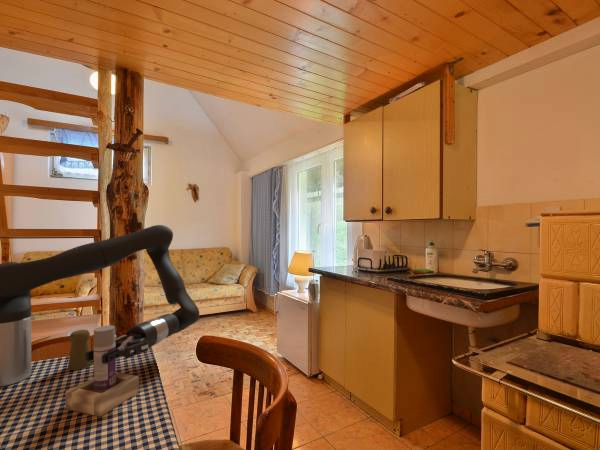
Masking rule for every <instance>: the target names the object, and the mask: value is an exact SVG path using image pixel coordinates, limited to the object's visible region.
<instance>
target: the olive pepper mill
mask: <svg viewBox="0 0 600 450" xmlns="http://www.w3.org/2000/svg"><path fill="white" fill-rule="evenodd" d="M90 336H91V335H90V331H89V330H87V329H78V330H75V331H72V332H71V333H70V334H69V342H70V343H71V345H70V352H69V358H68V363H67V371H70V370H75V371H80V369H81V370H84V369H86V367H87V368H88V366H89V367H90V366H91V365H92V360H91V361H86V357H85V354H86V352H88V351H90V346H89V340H90ZM83 368H84V369H83Z"/></svg>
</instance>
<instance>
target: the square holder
mask: <svg viewBox="0 0 600 450" xmlns="http://www.w3.org/2000/svg"><path fill="white" fill-rule="evenodd" d="M139 389H140V376H138V375H132V374H127V373H120V372H116V385H115V386H114V387H112V388H110V389H108V390H107V391H105V392H95V391H94V377H92V378H89V379H88V380H85V381H84V382H81V383H80V384H78V385H76V386H74V387H71V388H70V389H67V390H66V391H65V392H64V393H65V398H64V399H65V400H64V401H65V402H64V403H65V404H64V405H65V409H66V410H70V411H76V412H80V413H83V414H86V415H92V416H96V417H102V416H105V414H107V413H109V412H110V411H112V410H113V409H115V408H117V407H118V406H119V405H121V404H122V403H124V402H125V401H127V400H129V399H130V398H131V397H133V396H135V395H136V394H137V393H138V394H139V392H140V391H139Z"/></svg>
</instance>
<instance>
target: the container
mask: <svg viewBox="0 0 600 450" xmlns="http://www.w3.org/2000/svg"><path fill="white" fill-rule="evenodd" d="M115 335H116V326H114V325H111V324H110V325H109V324H108V325H102V326H98V327H95V328H94V329H93V349H94V359H93V378H94V391H95V392H102V393H103V392H105V391H107V390H108V389H110V388H112V387H114V386H115V385H116V373H117V370H116V369H117V368H116V367H117V358H116V359H114V360H112V361H110V362H108V363H106V364H103V363H102V355H103V354H106V353H108V352H110V351H112V350H114V349H116V345H115Z"/></svg>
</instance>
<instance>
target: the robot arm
mask: <svg viewBox="0 0 600 450" xmlns="http://www.w3.org/2000/svg"><path fill="white" fill-rule="evenodd" d="M173 238H174V232H173V230H172V229H171V228H170V227H168V226H167V225H162V224H156V225H152V226H149V227H145V228H143V229H140V230H137V231H134V232H131V233H128V234H124V235H119V236H115V237H110V238H107V239H103V240H98V241H94V242H89V243H84V244H82V245H78V246H76V247H72V248H70V249H67V250H65V251H63V252H60V253H57V254H55V255H53V256H48V257H45V258H41V259H35V260H32V261H31V260H30V261H25V262H16V261H15V262H14V261H6V262H2V263H0V387H5V386H10V385H13V384H16V383H19V382H21V381H24V380H25V379H27V378H29V377H30V376H31V375H32V301H31V291H32V290H34V289H36V288H39V287H42V286H45V285H47V284H50V283H53V282H57V281H59V280H63V279H67V278H72V277H77V276H81V275H84V274H88V273H92V272H96V271H98V270H102V269H106V268H109V267H111V266H113V265H115V264H117V263H119V262H121V261H122V260H124V259H126V258H128V257H129V256H131V255H133V254H134V253H137V252H141V251H143V250H145V252H146V253H147V255H148V257H149V258H150V260H151V262H152V264H153V266H154V268H155V270H156V273H157V274H158V278H159V281H160V284H161V287H162V290H163V292H164V296H165V298H166V302H167V303H168V304H169V305H176V304H178V305H179V308H178V309H177V310H175V311H173V312H171V313H166V314H162V315H160V316H158V317H155V318H151V319H148V320H145V321H143V322H140V323H138V324H136V325H134V326H131V327H130V328H129V329H128V330H127V332H126V333H125V334H123V335H120V336H118V337H116V338H115V345H116V349H114V350H112V351H110V352H108V353H106V354H103V355H102V363H103V364H106V363H108V362H110V361H112V360H114V359H116V360H117V359H122V358H125V359H129V358H132V357H135V356H138V355H139V354H142V353H145V352H147V351H149V348H152V347H154V346H155V345H157V344H160V343H161V342H162V341H163V340H165V339H167V338H169V337H171V336H172V335H174V334H177V333H179V332H182V331H184V330H185V329H187V328H188V327H190V326H192V325H193V324H195V323H196V322H197V321H198V320H199V318H200V310H199V307H198V306H197V304H196V303H195V302H194V300H193V299H192V298H191V296H190V295H189V293H188V291H187V289H186V286H185V284H184V280H183V278H182V276H181V273H179V271H178V270H177V269H176V267H175V266H174V264H173V263H172V260H171V255H170V252H169V248H170V246H171V244H172V241H173ZM85 357H86V361H91V362H92V361H94V348H92V349H89V351H88V352H86V354H85Z"/></svg>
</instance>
